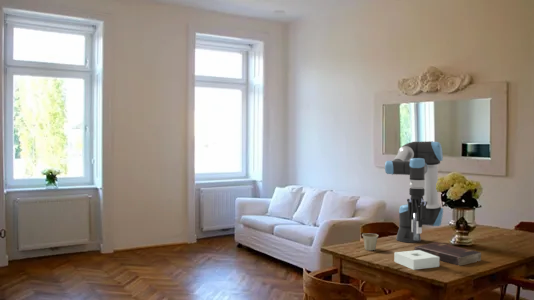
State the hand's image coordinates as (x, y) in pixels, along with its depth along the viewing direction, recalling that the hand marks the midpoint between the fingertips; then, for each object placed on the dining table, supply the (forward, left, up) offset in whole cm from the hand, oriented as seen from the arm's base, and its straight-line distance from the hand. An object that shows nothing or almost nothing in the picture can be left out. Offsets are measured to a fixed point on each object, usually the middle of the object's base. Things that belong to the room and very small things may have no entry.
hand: (416, 232), depth 244 cm
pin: (0, 0, -4) cm, 4 cm away
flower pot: (+5, -36, -17) cm, 40 cm away
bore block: (0, 0, -17) cm, 17 cm away
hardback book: (-25, -6, -17) cm, 31 cm away
